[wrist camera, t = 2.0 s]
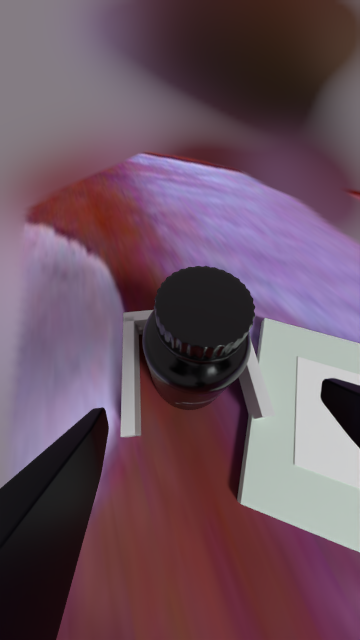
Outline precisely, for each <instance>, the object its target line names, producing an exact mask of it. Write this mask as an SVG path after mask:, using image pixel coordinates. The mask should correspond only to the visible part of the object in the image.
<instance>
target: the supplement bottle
mask: <svg viewBox="0 0 360 640" xmlns="http://www.w3.org/2000/svg"><path fill="white" fill-rule="evenodd" d="M254 309H255V306H254V304H253V298H252V297H251V295H250V291H249V290H247V289H246V287H245V285H244V284H243V283H241V282H240V280H239V279H238V278H236V277H234V276H233V275H232V274H230V273H227V272H225V271H224V270H219V269H217V268H215V267H212V268H210V267H208V266H204V267H201V266H196V267H188V268H186V269H181V270H179V271H178V272H174V273H173V274H172V275H171V276H169V277H167V278H166V281H164V282H163V283H162V284H161V287H160V288H159V289H158V290H157V295H156V297H155V306H154V310H153V311H152V313H151V314H150V316H149V317H148V319H147V321H146V324H145V327H144V331H143V350H144V354H145V358H146V361H147V364H148V367H149V370H150V373H151V376H152V379H153V382H154V385H155V387H156V389H157V391H158V393H159V394H160V396H161V397H162V398H163V399H164V400H165V401H166V402H168V403H169V404H170V405H172V406H174V407H177V408H180V409H184V410H194V409H199V408H202V407H205V406H206V405H208V404H210V403H211V402H212V401H214V400H215V399H216V398H217V397H218V396H219V395H220V394H221V393H222V392H223V391H224V390H226V389H227V388H228V387H229V386H230V385H231V384H232V383H233V382H234V381H235V380H236V379H237V378H238V377H239V376H240V374H241V373H242V372H243V370H244V369H245V367H246V365H247V363H248V360H249V357H250V352H251V337H250V332H249V330H250V328H251V327H252V325H253V319H254V317H255V313H254Z"/></svg>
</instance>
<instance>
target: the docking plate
mask: <svg viewBox="0 0 360 640" xmlns="http://www.w3.org/2000/svg"><path fill="white" fill-rule="evenodd" d="M257 360H258V363H259V366H260V369H261V373H262V376H263V379H264V382H265V385H266V388H267V391H268V394H269V397H270V400H271V403H272V406H273V409H274V412H275V416H270V417H266V418H259V419H254V418H253V414H251V415H249V417H248V424H247V432H246V439H245V446H244V453H243V461H242V468H241V475H240V483H239V490H238V497H237V501H238V502H239V503H240V504H242V505H245V506H247V507H250V508H252V509H254V510H257V511H259V512H262V513H264V514H267V515H269V516H272V517H274V518H277V519H279V520H282V521H284V522H286V523H289V524H291V525H294V526H296V527H299V528H301V529H304V530H306V531H309V532H311V533H313V534H316V535H318V536H321V537H323V538H326V539H328V540H331V541H333V542H336V543H338V544H341V545H343V546H345V547H348V548H350V549H353V550H355V551H358V552H360V448H359V447H358V446H357V445H356V444H355V443H354V442H353V441H352V439H351V438H350V437H349V436H348V435H347V433H346V432H345V431H344V430H343V428H342V427H341V426H340V424H339V423H338V422H337V420H336V419H335V418H334V417H333V415H332V414H331V413H330V411H329V410H328V409H327V407H326V406H325V405H324V404H323V402H322V400H321V397H320V394H321V386H322V381H323V380H324V379H328V378H336V379H340V380H343V381H346V382H350V383H353V384H357V385H360V343H356V342H352V341H348V340H345V339H341V338H337V337H334V336H330V335H326V334H323V333H319V332H315V331H311V330H308V329H304V328H300V327H297V326H293V325H289V324H285V323H282V322H278V321H274V320H271V319H267V318H264V320H263V321H262V322H261V330H260V337H259V344H258V351H257Z"/></svg>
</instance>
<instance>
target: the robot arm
mask: <svg viewBox="0 0 360 640" xmlns="http://www.w3.org/2000/svg"><path fill="white" fill-rule="evenodd" d="M320 397H321V400H322V402H323V404H324V405H325V406H326V407H327V409H328V410H329V411H330V413H331V414H332V415H333V417H334V418H335V419H336V420H337V422H338V423H339V424H340V426H341V427H342V428H343V430H344V431H345V432H346V433H347V435H348V436H349V437H350V438H351V439H352V441H353V442H354V443H355V444H356V445H357V446H358V447H359V448H360V385H357V384H353V383H350V382H346V381H343V380H340V379H336V378H328V379H324V380H323V381H322V386H321V394H320ZM108 430H109V426H108V420H107V416H106V411H105V409H104V408H95V409H92V410H91V411H90V412H89V413H88V414H86V415H85V416H84V417H83V418H82V419H81V420H79V421H78V422H77V423H76V424H75V425H74V426H72V427H71V428H70V429H69V430H68V431H67V432H66V433H64V434H63V435H62V436H61V437H60V438H59V439H57V440H56V441H55V442H54V443H53V444H52V445H50V446H49V447H48V448H47V449H46V450H45V451H43V452H42V453H41V454H40V455H39V456H38V457H36V458H35V459H34V460H33V461H32V462H31V463H30V464H28V465H27V466H26V467H25V468H24V469H23V470H21V471H20V472H19V473H18V474H17V475H16V476H14V477H13V478H12V479H11V480H10V481H9V482H7V483H6V484H5V485H4V486H3V487H2V488H0V640H56V638H57V635H58V631H59V627H60V624H61V620H62V616H63V613H64V609H65V605H66V602H67V598H68V594H69V591H70V587H71V583H72V580H73V576H74V572H75V569H76V565H77V561H78V558H79V554H80V550H81V547H82V543H83V539H84V536H85V532H86V528H87V525H88V521H89V517H90V514H91V510H92V506H93V503H94V499H95V495H96V492H97V488H98V484H99V480H100V476H101V472H102V466H103V460H104V455H105V449H106V443H107V437H108Z"/></svg>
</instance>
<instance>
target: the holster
mask: <svg viewBox="0 0 360 640" xmlns="http://www.w3.org/2000/svg"><path fill="white" fill-rule="evenodd" d="M152 311H153V310H147V311H136V312H126V313H123V351H122V398H121V437H133V436H140V435H141V405H140V361H139V334H143V331H144V327H145V324H146V321H147V319H148V317H149V316H150V314H151V313H152ZM239 380H240V384H241V388H242V392H243V395H244V399H245V403H246V407H247V410H248V414H249V415H251V414H253V418H254V419H259V418H266V417H270V416H275V412H274V409H273V406H272V403H271V400H270V397H269V394H268V391H267V388H266V385H265V382H264V379H263V376H262V373H261V369H260V366H259V363H258V360H257V357H256V354H255V351H254V348H253V345H252V342H251V352H250V357H249V360H248V363H247V365H246V367H245V369H244V370H243V372H242V373H241V374H240V376H239Z"/></svg>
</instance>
